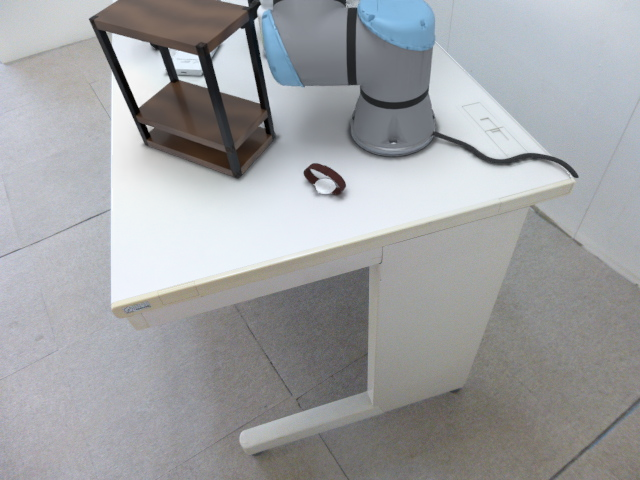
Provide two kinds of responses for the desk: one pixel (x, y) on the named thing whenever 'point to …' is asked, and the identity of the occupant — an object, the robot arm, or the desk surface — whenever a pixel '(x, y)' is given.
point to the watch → (325, 184)
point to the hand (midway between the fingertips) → (266, 28)
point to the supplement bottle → (266, 4)
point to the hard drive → (188, 63)
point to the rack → (185, 98)
